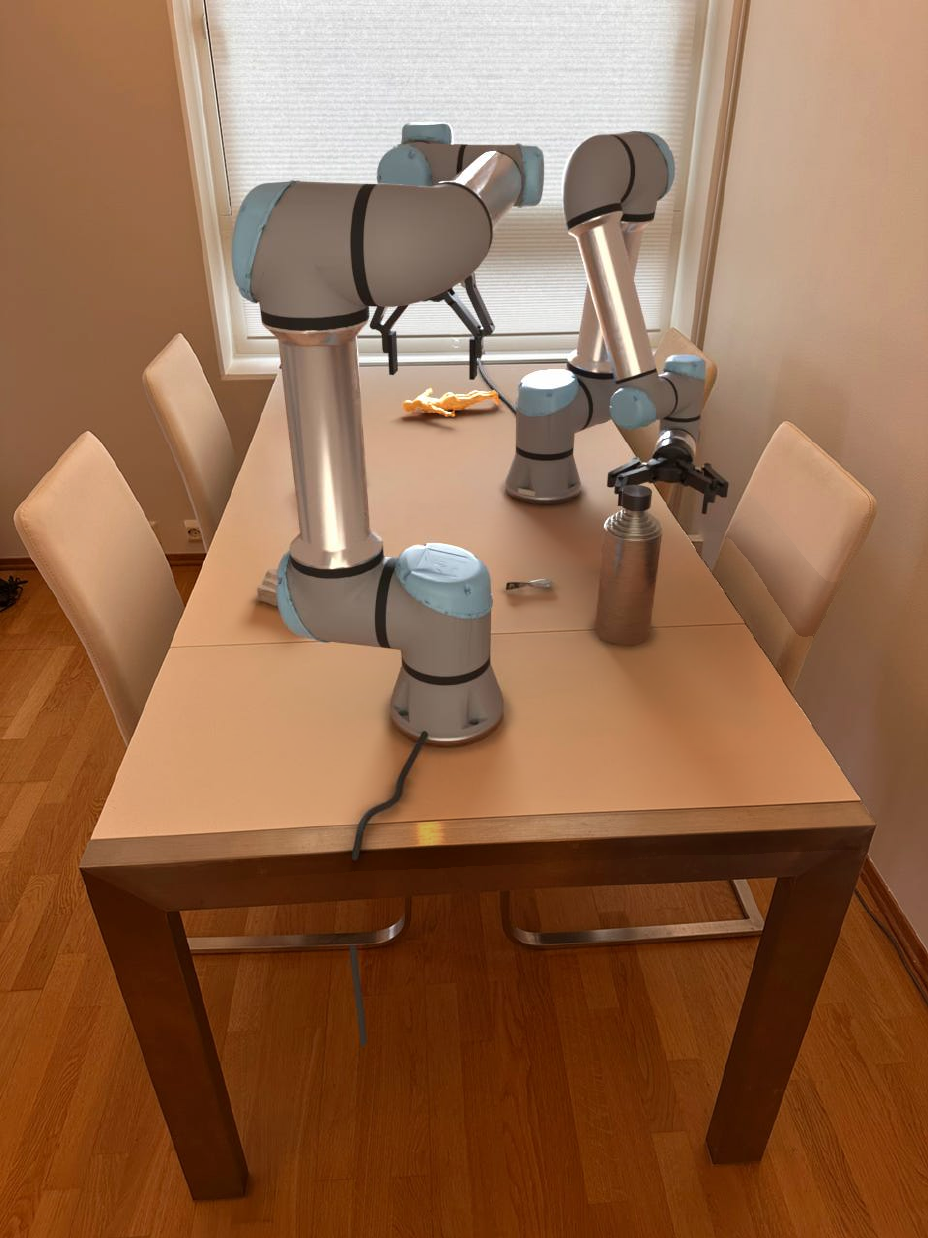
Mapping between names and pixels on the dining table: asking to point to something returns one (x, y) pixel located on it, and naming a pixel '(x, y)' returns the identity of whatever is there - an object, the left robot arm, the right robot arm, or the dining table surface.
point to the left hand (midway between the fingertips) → (433, 375)
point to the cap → (636, 498)
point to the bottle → (628, 577)
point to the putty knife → (529, 584)
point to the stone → (268, 588)
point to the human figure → (448, 402)
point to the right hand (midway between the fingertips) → (662, 502)
